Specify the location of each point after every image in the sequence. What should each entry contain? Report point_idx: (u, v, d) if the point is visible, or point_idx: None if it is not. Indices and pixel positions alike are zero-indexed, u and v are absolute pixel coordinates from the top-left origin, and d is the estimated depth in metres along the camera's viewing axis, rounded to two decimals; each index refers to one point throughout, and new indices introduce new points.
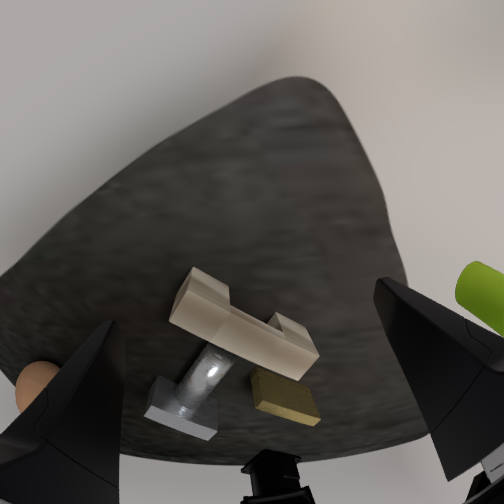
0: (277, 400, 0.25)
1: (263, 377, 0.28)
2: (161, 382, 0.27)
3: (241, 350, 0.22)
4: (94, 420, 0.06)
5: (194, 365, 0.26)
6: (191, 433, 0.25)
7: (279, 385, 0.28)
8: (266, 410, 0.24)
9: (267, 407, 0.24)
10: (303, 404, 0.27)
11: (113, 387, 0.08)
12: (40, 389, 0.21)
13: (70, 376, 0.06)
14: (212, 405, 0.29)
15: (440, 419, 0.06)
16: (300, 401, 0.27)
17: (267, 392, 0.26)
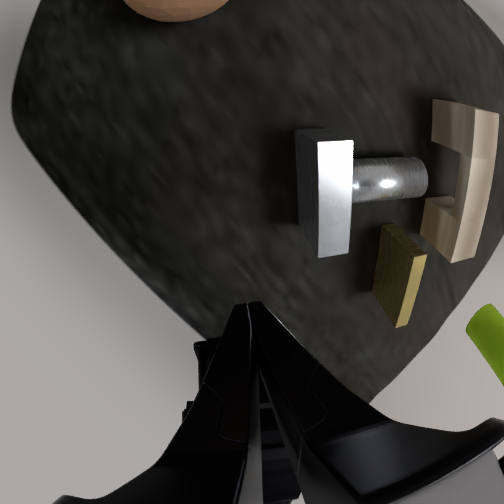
0: None
1: None
2: None
3: (471, 191, 0.17)
4: (256, 412, 0.07)
5: (393, 159, 0.18)
6: (322, 228, 0.17)
7: None
8: (413, 269, 0.19)
9: (418, 266, 0.19)
10: None
11: (257, 374, 0.08)
12: None
13: (233, 366, 0.07)
14: None
15: (296, 468, 0.06)
16: None
17: None
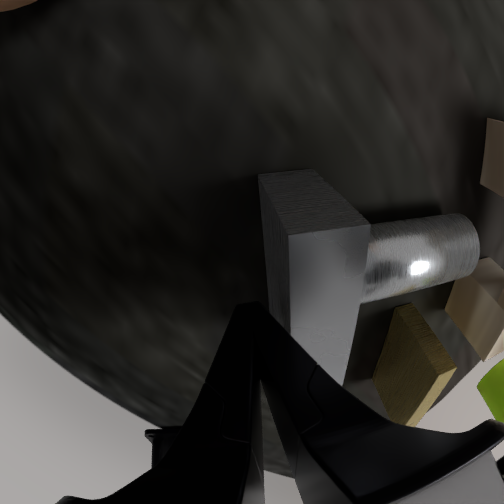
0: None
1: None
2: None
3: None
4: (258, 412, 0.07)
5: (430, 225, 0.10)
6: None
7: None
8: (434, 386, 0.11)
9: (441, 382, 0.11)
10: None
11: (258, 374, 0.08)
12: None
13: (235, 365, 0.07)
14: None
15: (294, 468, 0.06)
16: None
17: None
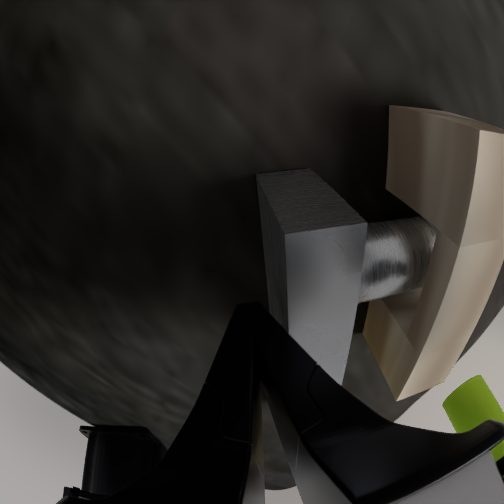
0: None
1: None
2: None
3: (449, 306, 0.09)
4: (258, 412, 0.07)
5: (429, 224, 0.10)
6: None
7: None
8: None
9: None
10: None
11: (258, 374, 0.08)
12: None
13: (235, 365, 0.07)
14: None
15: (294, 468, 0.06)
16: None
17: None
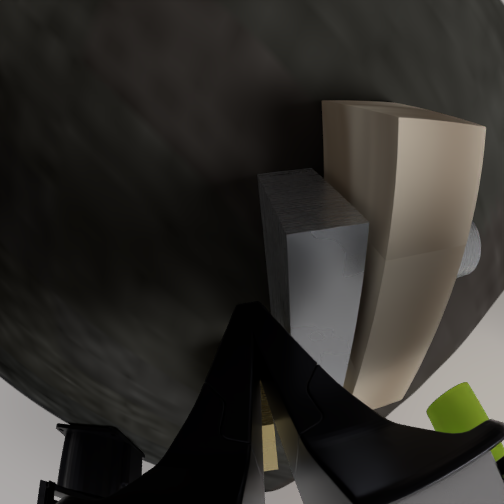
0: None
1: None
2: None
3: (386, 325, 0.08)
4: (258, 412, 0.07)
5: None
6: None
7: None
8: None
9: None
10: None
11: (258, 374, 0.08)
12: None
13: (235, 365, 0.07)
14: None
15: (294, 468, 0.06)
16: None
17: None
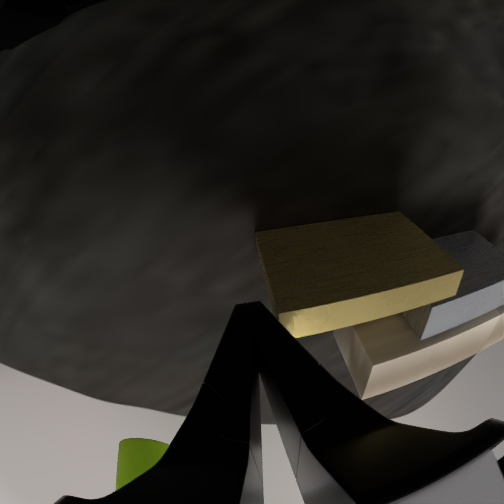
0: None
1: None
2: None
3: (469, 335, 0.12)
4: (257, 412, 0.07)
5: None
6: (463, 300, 0.10)
7: None
8: (442, 280, 0.09)
9: (443, 287, 0.09)
10: None
11: (257, 374, 0.08)
12: None
13: (234, 366, 0.07)
14: None
15: (295, 468, 0.06)
16: None
17: None
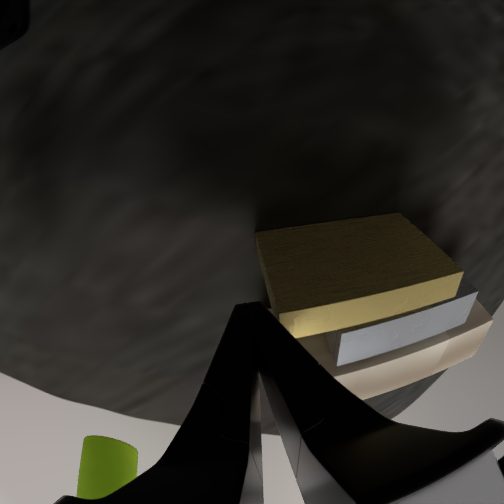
0: None
1: None
2: None
3: (407, 361, 0.12)
4: (257, 412, 0.07)
5: None
6: (388, 325, 0.10)
7: None
8: (442, 281, 0.09)
9: (442, 289, 0.09)
10: None
11: (257, 374, 0.08)
12: None
13: (234, 365, 0.07)
14: None
15: (295, 468, 0.06)
16: None
17: None
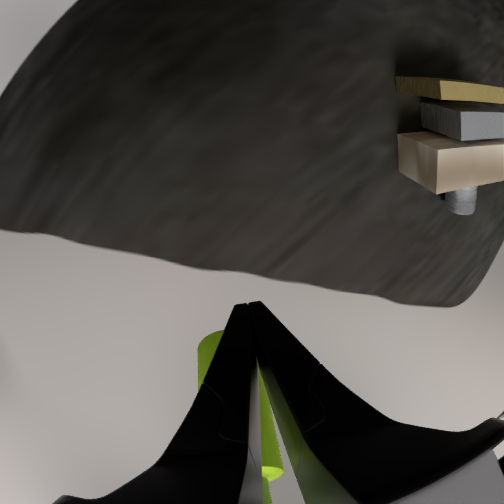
0: None
1: None
2: None
3: (492, 152, 0.15)
4: (256, 412, 0.07)
5: None
6: (478, 115, 0.14)
7: None
8: (495, 89, 0.12)
9: (497, 94, 0.13)
10: None
11: (256, 374, 0.08)
12: None
13: (233, 365, 0.07)
14: None
15: (296, 468, 0.06)
16: None
17: None
